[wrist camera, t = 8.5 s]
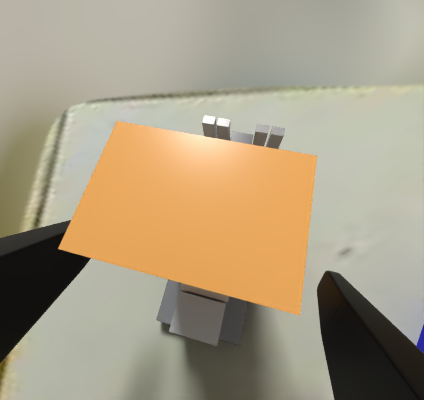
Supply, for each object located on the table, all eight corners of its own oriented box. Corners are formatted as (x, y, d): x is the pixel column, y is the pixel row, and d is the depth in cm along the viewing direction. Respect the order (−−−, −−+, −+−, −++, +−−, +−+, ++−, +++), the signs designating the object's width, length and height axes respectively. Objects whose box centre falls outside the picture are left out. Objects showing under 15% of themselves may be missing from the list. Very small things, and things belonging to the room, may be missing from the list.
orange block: (245, 283, 14) (302, 319, 3) (177, 265, 14) (54, 250, 4) (254, 236, 14) (320, 154, 4) (189, 221, 15) (115, 118, 5)
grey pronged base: (239, 340, 14) (244, 368, 10) (160, 317, 14) (136, 334, 10) (272, 157, 18) (285, 124, 14) (209, 146, 18) (205, 111, 14)
